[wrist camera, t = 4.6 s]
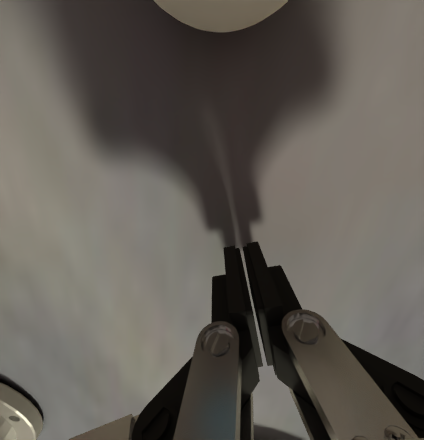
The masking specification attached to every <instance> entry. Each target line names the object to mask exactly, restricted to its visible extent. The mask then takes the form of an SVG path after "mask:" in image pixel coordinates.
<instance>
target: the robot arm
mask: <svg viewBox="0 0 424 440" xmlns="http://www.w3.org/2000/svg"><path fill="white" fill-rule="evenodd" d="M243 251H244V257H245V262H246V268H247V273H248V278H249V284H250V289H251V294H252V299H253V303H254V308H255V312H256V317H257V321H258V326H259V330H260V334H261V339H262V343H263V348H264V352H265V357H266V361H267V365H268V366H270V365H273V367H274V371H275V375H277V378H278V379H279V380H280V381H282V382H283V383H284V384H286V385H287V386H288V387H289V389H290V393H291V395H292V398H293V400H294V402H295V405H296V407H297V409H298V412H299V414H300V416H301V419H302V421H303V424H304V426H305V428H306V431H307V433H308V435H309V438H310V440H424V380H422V379H420V378H419V377H417V376H415V375H413V374H411V373H409V372H407V371H405V370H403V369H401V368H399V367H397V366H395V365H393V364H391V363H389V362H387V361H385V360H383V359H381V358H379V357H377V356H375V355H373V354H371V353H369V352H367V351H365V350H363V349H361V348H359V347H357V346H355V345H352V344H350V343H348V342H346V341H344V340H342V339H340V338H339V336H338V335H337V334H336V332H335V331H334V330H333V329H332V327H331V326H330V325H329V324H328V322H327V321H326V320H325V319H324V318H323V317H322V316H320V315H318V314H317V313H315V312H312V311H309V310H303V309H302V308H301V306H300V304H299V302H298V300H297V298H296V296H295V294H294V291H293V289H292V287H291V285H290V283H289V281H288V279H287V277H286V275H285V273H284V271H283V269H282V267H281V266H280V265H279V266H273V267H267V264H266V262H265V259H264V257H263V254H262V251H261V249H260V246H259V244H258V242H252V243H247V247H243ZM224 258H225V271H226V275H220V276H214V277H212V323H211V324H208V325H207V326H206V327H204V328H203V329H202V331H201V332H200V333H199V335H198V338H197V341H196V345H195V349H194V353H193V357H192V358H191V359H190V360H189V361H188V362H187V363H186V364H185V365H184V366H183V367H182V368H181V369H180V371H179V372H178V373H177V374H176V375H175V376H174V377H173V378H172V379H171V380H170V381H169V382H168V383H167V384H166V385H165V386H164V388H163V389H162V390H161V391H160V392H159V393H158V394H157V395H156V396H155V397H154V398H153V399H152V400H151V401H150V402H149V403H148V405H147V406H146V407H145V408H144V409H143V411H142V412H141V413H140V414H139V415H137V416H134V417H133V415H132V414H130V415H127V416H125V417H122V418H120V419H118V420H115V421H113V422H110V423H108V424H105V425H103V426H100V427H98V428H95V429H93V430H90V431H88V432H85V433H83V434H80V435H78V436H75V437H73V438H71V439H69V440H254V428H253V394H252V392H253V390H254V388H255V387H256V385H257V384H258V382H259V381H260V380H259V373H258V367H261V366H263V363H262V358H261V353H260V348H259V342H258V337H257V332H256V326H255V321H254V316H253V311H252V306H251V301H250V296H249V291H248V287H247V282H246V277H245V272H244V268H243V263H242V258H241V253H240V249H239V248H236V249H235V246H230V247H225V248H224ZM42 427H43V422H42V417H41V415H40V413H39V411H38V409H37V408H36V407H35V406H34V405H33V404H32V402H31V401H30V400H28V399H27V398H26V397H25V396H23V395H22V394H21V393H19V392H18V391H16V390H14V389H13V388H11V387H9V386H7V385H5V384H3V383H1V382H0V440H37V438H38V436H39V434H40V433H41V431H42Z"/></svg>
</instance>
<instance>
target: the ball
mask: <svg viewBox="0 0 424 440" xmlns="http://www.w3.org/2000/svg"><path fill="white" fill-rule="evenodd" d="M153 1H154V2H155V3H156V4H157V5H158V6H159V7H161V8H162V9H163V10H164V11H166V12H167V13H168V14H170V15H171V16H173V17H174V18H175V19H177V20H179V21H180V22H182V23H184V24H187V25H189V26H191V27H194V28H196V29H199V30H204V31H210V32H232V31H237V30H241V29H244V28H247V27H250V26H252V25H255V24H257V23H259V22H260V21H262V20H264V19H265V18H267V17H268V16H270V15H272V14H273V13H274V12H276V11H277V10H279V9H280V8H281V7H282V6H283V5H285V4H286V3H287V2H288V1H289V0H153Z"/></svg>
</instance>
